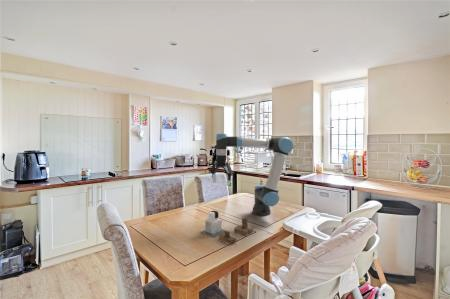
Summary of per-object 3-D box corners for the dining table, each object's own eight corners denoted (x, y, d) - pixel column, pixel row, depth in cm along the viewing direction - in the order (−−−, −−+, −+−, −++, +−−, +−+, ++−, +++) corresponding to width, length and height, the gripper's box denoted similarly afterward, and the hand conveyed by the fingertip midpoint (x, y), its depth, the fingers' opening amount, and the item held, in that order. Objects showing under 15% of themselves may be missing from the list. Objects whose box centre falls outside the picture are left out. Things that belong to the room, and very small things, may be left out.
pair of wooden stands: (240, 227, 147) (240, 215, 146) (253, 231, 140) (253, 219, 140) (218, 239, 129) (218, 225, 129) (231, 244, 123) (231, 230, 122)
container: (213, 227, 145) (213, 209, 145) (221, 230, 141) (221, 211, 140) (205, 231, 139) (205, 211, 139) (213, 234, 135) (213, 214, 134)
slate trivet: (213, 226, 148) (213, 226, 148) (226, 231, 141) (226, 230, 141) (200, 232, 139) (200, 231, 139) (214, 237, 132) (214, 236, 132)
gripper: (205, 154, 160) (205, 182, 161) (231, 155, 144) (231, 186, 145) (212, 154, 166) (212, 181, 167) (238, 155, 150) (238, 185, 151)
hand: (221, 183), depth 156 cm, fingers open, 13 cm apart
